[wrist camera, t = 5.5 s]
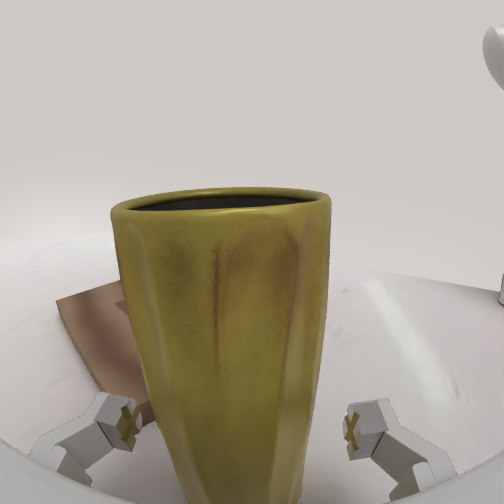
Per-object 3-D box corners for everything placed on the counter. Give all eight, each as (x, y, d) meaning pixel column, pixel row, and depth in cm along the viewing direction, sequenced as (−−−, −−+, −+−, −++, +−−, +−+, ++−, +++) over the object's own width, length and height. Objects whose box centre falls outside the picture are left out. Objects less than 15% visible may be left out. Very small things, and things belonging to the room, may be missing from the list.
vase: (243, 429, 15) (230, 184, 11) (324, 479, 11) (389, 196, 7) (164, 480, 11) (69, 207, 6) (243, 551, 7) (173, 241, 2)
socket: (191, 270, 42) (190, 258, 42) (312, 315, 29) (313, 298, 28) (60, 315, 27) (55, 300, 27) (131, 432, 14) (121, 413, 13)
